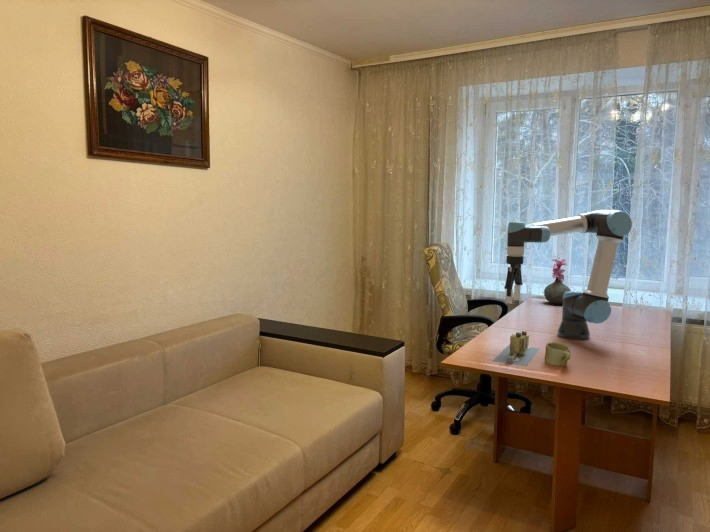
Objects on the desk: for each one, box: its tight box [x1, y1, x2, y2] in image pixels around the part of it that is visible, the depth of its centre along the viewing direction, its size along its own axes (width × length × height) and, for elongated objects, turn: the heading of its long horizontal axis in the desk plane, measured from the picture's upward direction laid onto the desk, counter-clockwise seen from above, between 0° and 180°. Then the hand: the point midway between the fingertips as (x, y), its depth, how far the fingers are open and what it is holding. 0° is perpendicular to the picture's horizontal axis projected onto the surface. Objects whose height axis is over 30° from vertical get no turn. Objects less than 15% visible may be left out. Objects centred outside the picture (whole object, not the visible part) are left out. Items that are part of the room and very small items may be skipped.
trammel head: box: [509, 332, 526, 355], centre depth 232 cm, size 6×4×9 cm
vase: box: [543, 258, 572, 306], centre depth 349 cm, size 17×18×30 cm
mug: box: [544, 342, 572, 368], centre depth 218 cm, size 12×10×10 cm
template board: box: [492, 343, 541, 367], centre depth 232 cm, size 14×31×1 cm, turn 150°
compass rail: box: [505, 330, 530, 365], centre depth 231 cm, size 4×29×7 cm, turn 151°
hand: (513, 301), depth 243 cm, fingers open, 13 cm apart
